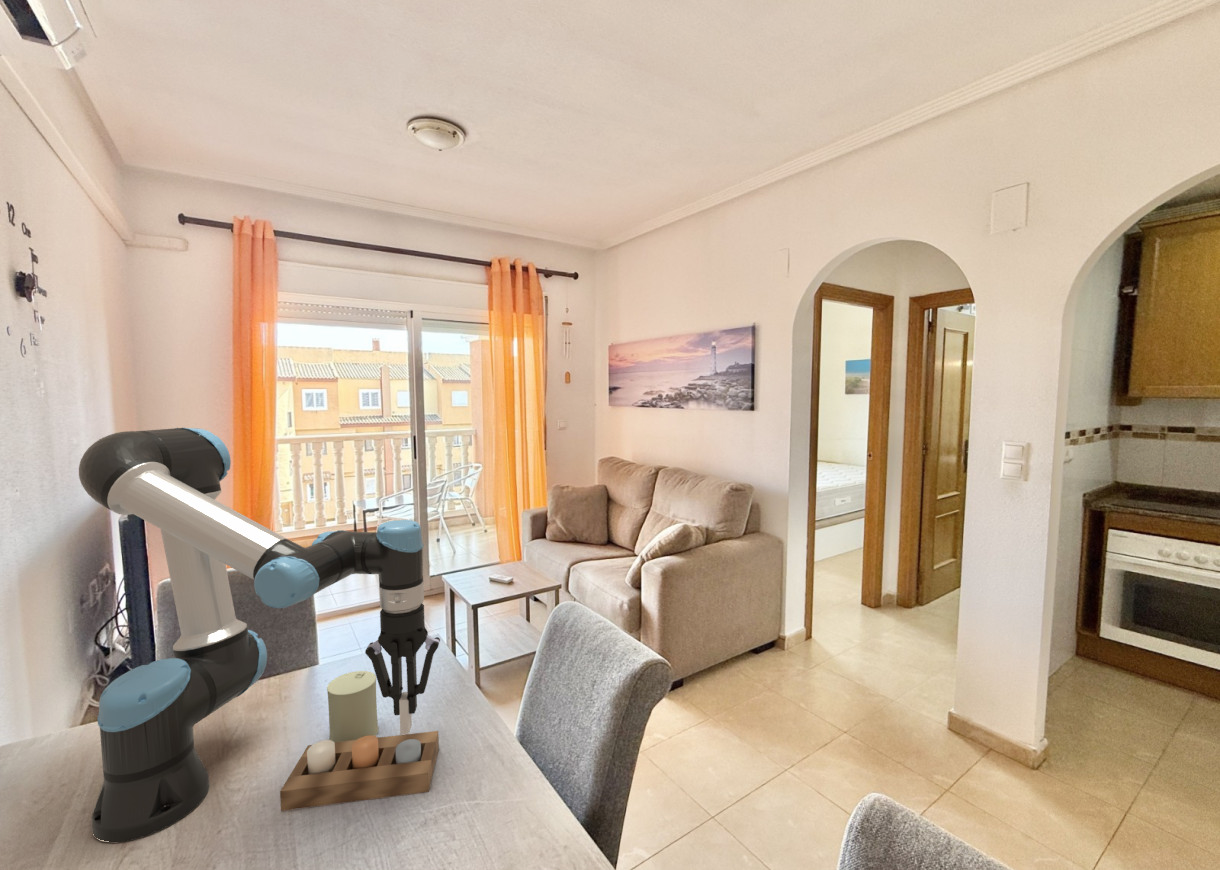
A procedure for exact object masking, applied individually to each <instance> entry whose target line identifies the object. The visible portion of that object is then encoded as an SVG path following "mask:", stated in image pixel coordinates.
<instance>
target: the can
mask: <svg viewBox="0 0 1220 870" xmlns="http://www.w3.org/2000/svg"><path fill="white" fill-rule="evenodd" d="M326 691H327V701H328V702H327V703H328V719H329V720H328V722H329V727H328V728H329V739H328V740H331V741H333V742H343V741H352V740H357V739H359V738H361V737H364V736H368V735H373V736H376V737H377V735H378V733H379V725H378V708H377V707H378V706H377V703H378V702H377V677H376V674H375V672H372V671H367V670H359V671H358V670H356V671H351V672H348V673H345V674H342V675H340V676H337V677H336V678H334V679H333V680H331V681H330V682H329V683H328V685H327V687H326Z"/></svg>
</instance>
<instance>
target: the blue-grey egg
mask: <svg viewBox="0 0 1220 870" xmlns="http://www.w3.org/2000/svg"><path fill="white" fill-rule="evenodd" d="M418 761H421V743H420V741H419V740H416V739H409V740H405V741H403V742H401V743H400V744H398V745H397V747H396V764H401V763H410V762H418Z"/></svg>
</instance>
